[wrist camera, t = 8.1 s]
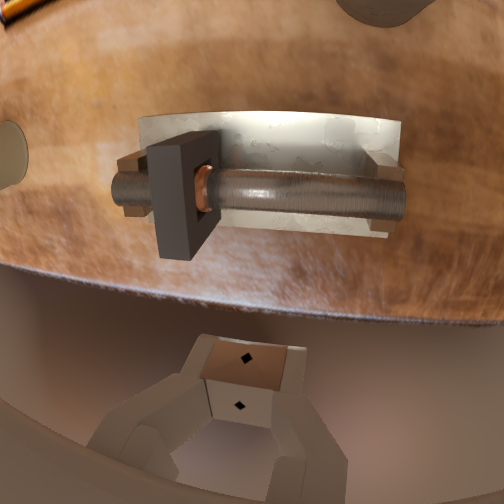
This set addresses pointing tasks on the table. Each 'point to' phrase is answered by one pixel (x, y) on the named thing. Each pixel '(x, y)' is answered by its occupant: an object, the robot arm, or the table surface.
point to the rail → (285, 154)
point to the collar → (181, 192)
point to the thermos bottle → (383, 10)
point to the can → (12, 154)
